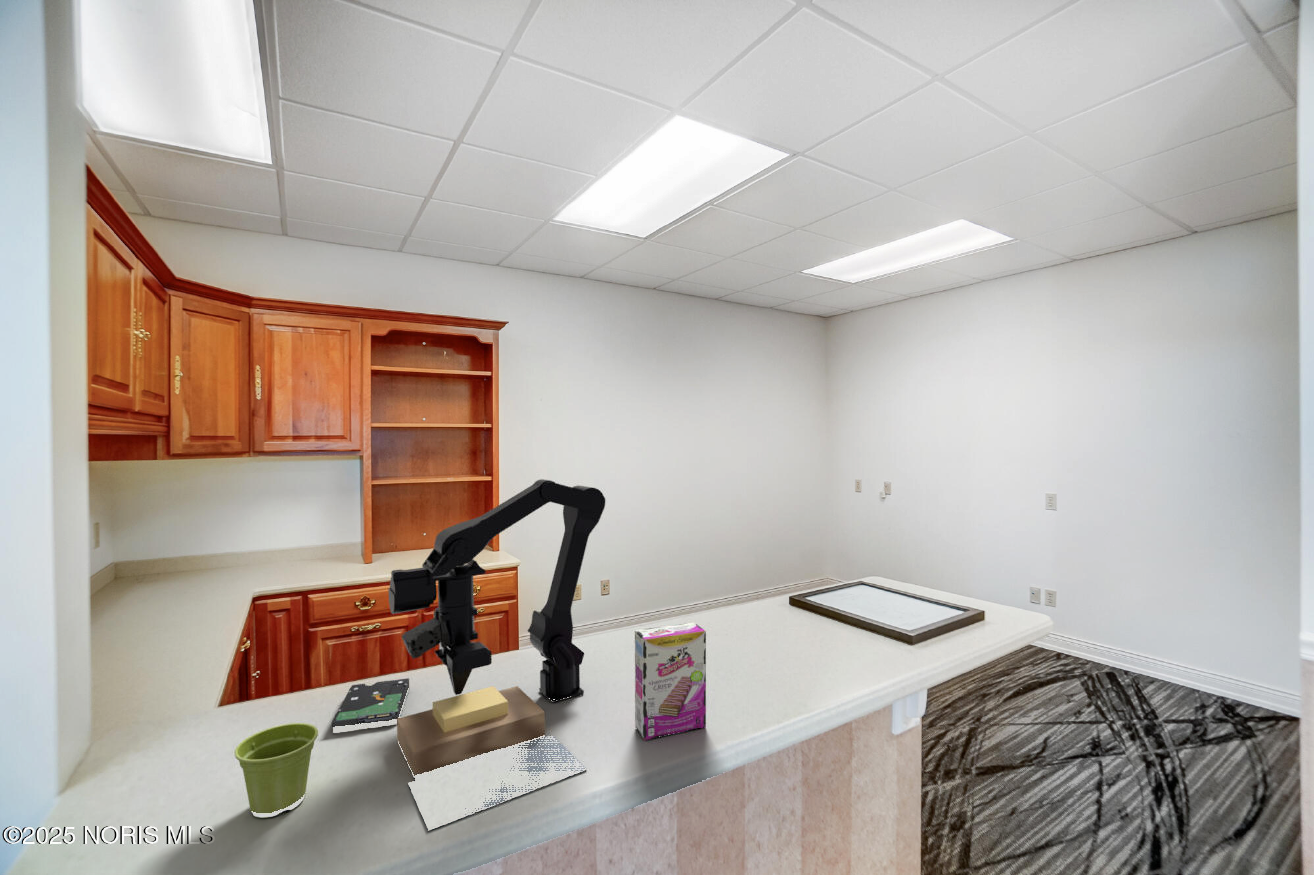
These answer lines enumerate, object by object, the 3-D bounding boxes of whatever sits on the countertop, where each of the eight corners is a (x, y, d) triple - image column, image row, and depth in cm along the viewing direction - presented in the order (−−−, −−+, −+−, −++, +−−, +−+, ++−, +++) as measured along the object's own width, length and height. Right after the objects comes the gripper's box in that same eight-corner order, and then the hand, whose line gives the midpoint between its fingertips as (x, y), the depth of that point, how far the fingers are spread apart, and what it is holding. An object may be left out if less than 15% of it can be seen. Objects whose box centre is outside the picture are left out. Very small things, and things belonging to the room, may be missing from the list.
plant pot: (333, 782, 83) (331, 721, 83) (294, 827, 73) (292, 758, 73) (265, 784, 82) (264, 723, 82) (218, 830, 73) (216, 761, 73)
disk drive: (350, 699, 110) (331, 737, 96) (350, 684, 110) (331, 720, 96) (409, 691, 113) (399, 727, 99) (409, 677, 113) (399, 710, 99)
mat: (552, 735, 94) (552, 734, 94) (586, 770, 84) (586, 768, 84) (407, 784, 82) (407, 782, 82) (428, 831, 72) (428, 829, 72)
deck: (517, 708, 104) (517, 685, 104) (545, 736, 94) (544, 711, 94) (397, 743, 93) (396, 718, 93) (414, 780, 83) (413, 752, 83)
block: (493, 697, 99) (493, 686, 99) (508, 713, 94) (507, 701, 94) (432, 714, 94) (432, 702, 94) (444, 732, 88) (444, 719, 88)
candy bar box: (644, 742, 92) (642, 639, 92) (634, 728, 96) (632, 629, 96) (708, 728, 96) (707, 629, 96) (695, 715, 100) (694, 620, 100)
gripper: (394, 598, 103) (396, 686, 103) (418, 626, 87) (420, 730, 87) (459, 588, 109) (460, 671, 109) (491, 612, 93) (493, 709, 93)
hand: (457, 693), depth 99 cm, fingers closed
